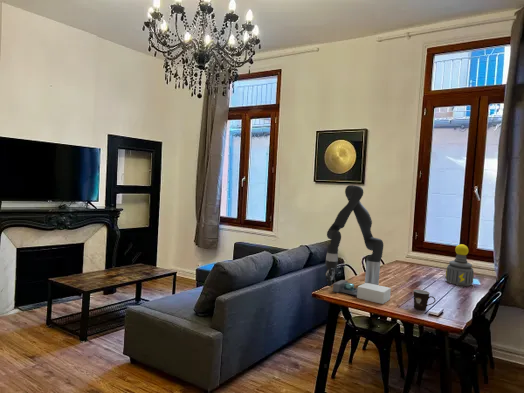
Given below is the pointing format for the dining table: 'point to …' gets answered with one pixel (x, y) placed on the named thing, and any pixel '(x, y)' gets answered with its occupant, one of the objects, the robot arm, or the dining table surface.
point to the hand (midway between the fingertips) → (329, 285)
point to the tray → (340, 287)
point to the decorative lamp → (460, 268)
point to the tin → (349, 286)
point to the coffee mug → (421, 299)
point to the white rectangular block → (374, 293)
